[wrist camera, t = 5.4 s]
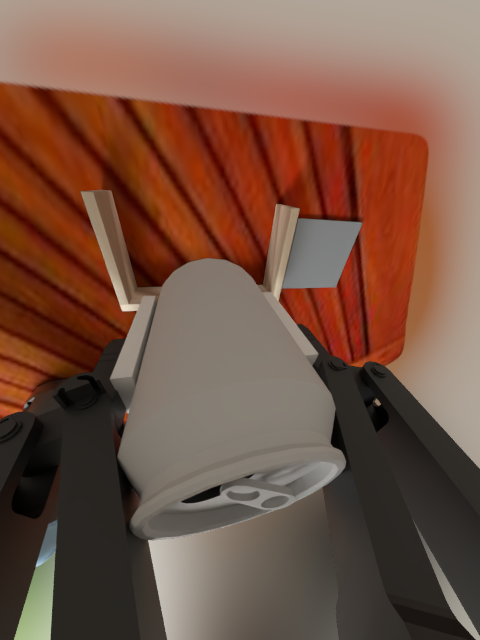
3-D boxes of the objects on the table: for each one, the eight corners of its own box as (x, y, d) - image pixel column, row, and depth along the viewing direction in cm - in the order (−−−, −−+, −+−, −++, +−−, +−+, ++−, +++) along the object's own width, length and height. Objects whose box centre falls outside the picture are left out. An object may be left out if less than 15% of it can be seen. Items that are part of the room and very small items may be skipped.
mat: (280, 287, 33) (282, 288, 33) (296, 217, 27) (298, 218, 26) (333, 285, 36) (335, 287, 35) (359, 222, 29) (362, 222, 29)
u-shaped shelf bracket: (131, 293, 28) (122, 311, 24) (101, 189, 21) (80, 191, 17) (267, 289, 33) (277, 304, 29) (282, 204, 25) (299, 208, 21)
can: (190, 230, 11) (200, 445, 2) (273, 286, 15) (413, 455, 6) (143, 318, 14) (54, 581, 5) (223, 347, 18) (262, 528, 9)
